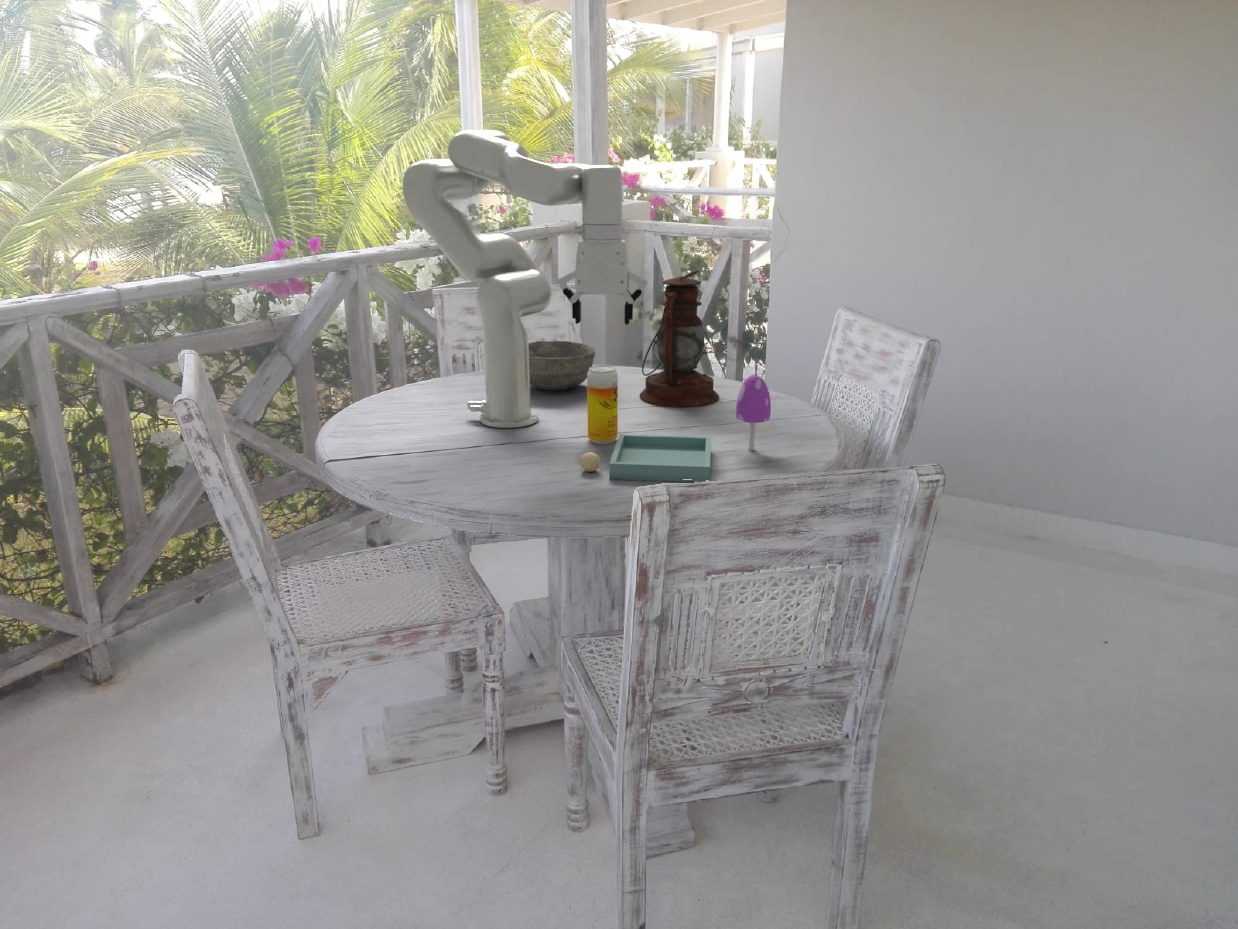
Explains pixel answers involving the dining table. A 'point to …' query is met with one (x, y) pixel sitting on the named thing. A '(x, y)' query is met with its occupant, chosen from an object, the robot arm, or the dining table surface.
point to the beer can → (602, 404)
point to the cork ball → (590, 461)
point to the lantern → (679, 351)
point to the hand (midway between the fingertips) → (602, 322)
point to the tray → (661, 458)
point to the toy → (753, 404)
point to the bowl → (559, 364)
